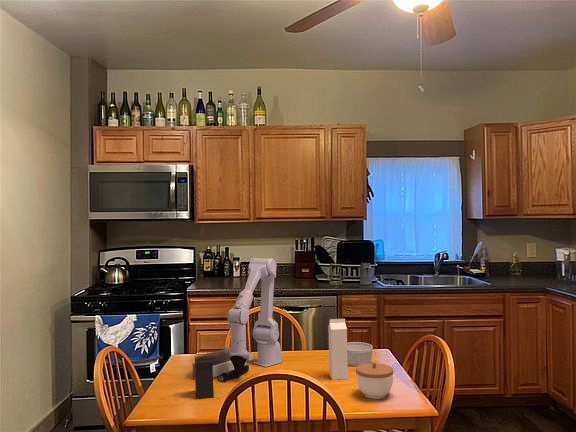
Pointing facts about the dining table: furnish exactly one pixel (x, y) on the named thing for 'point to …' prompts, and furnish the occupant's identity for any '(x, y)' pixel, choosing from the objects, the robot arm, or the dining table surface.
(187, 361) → the dining table surface
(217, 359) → the tester frame
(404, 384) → the dining table surface
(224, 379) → the electric trimmer
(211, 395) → the phone stand
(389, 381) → the lidded bowl
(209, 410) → the dining table surface
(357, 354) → the ramekin
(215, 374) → the pad
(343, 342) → the milk
